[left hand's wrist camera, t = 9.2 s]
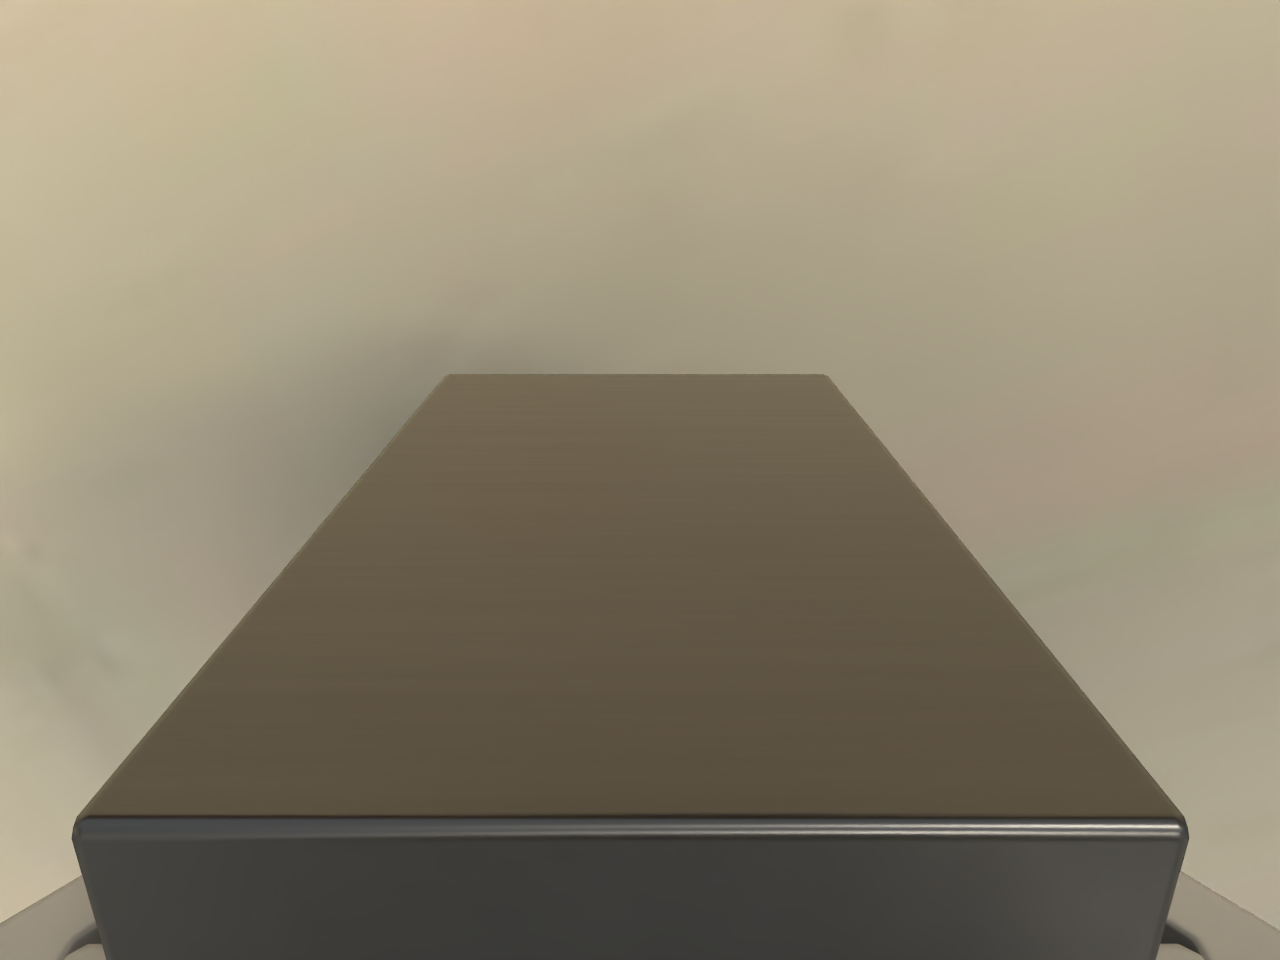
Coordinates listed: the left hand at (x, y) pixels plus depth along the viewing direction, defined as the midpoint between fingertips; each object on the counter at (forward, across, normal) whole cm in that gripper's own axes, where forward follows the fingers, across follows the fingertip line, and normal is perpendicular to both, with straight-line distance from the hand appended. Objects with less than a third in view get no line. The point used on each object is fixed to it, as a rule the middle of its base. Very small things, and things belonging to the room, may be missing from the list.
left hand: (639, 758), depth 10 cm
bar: (+3, 0, -9) cm, 10 cm away
